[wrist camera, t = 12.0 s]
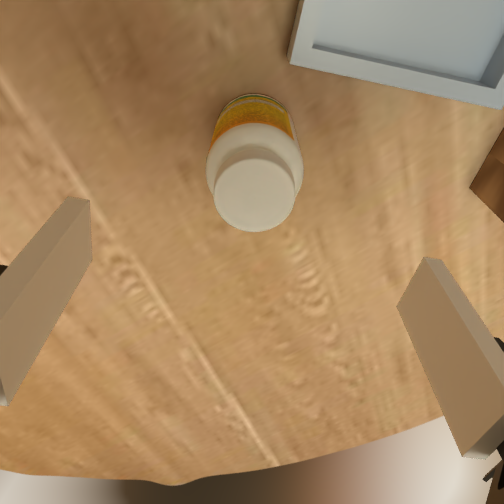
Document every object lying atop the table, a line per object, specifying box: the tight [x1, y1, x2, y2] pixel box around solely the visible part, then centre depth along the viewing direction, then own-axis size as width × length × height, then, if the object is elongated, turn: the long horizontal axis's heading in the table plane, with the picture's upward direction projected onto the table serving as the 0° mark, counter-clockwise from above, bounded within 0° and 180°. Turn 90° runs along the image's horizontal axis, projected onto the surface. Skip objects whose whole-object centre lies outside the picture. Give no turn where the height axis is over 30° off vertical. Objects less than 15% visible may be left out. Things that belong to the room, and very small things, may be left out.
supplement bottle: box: [206, 94, 304, 232], centre depth 23 cm, size 5×5×10 cm
